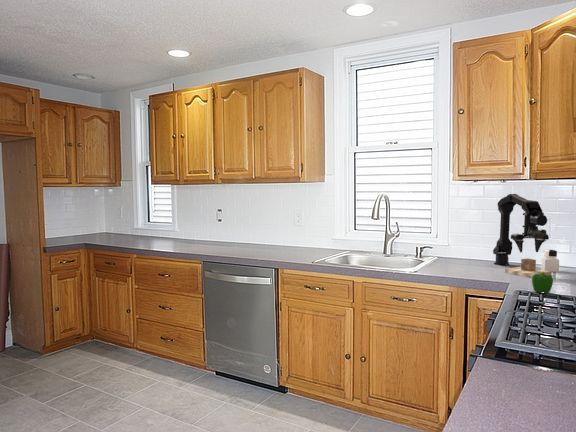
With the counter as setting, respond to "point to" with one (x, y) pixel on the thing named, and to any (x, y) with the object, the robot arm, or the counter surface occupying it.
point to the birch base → (526, 272)
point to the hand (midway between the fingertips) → (528, 252)
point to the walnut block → (528, 264)
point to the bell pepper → (542, 282)
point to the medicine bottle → (550, 261)
